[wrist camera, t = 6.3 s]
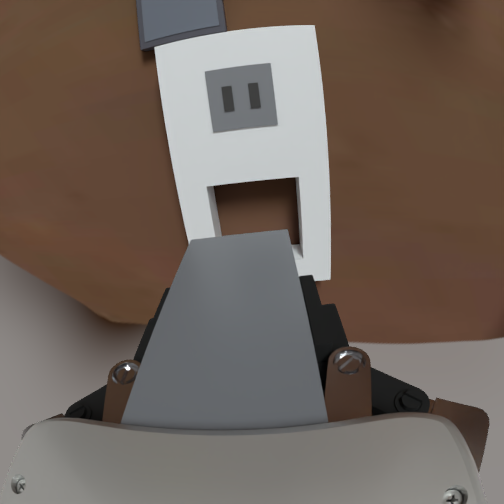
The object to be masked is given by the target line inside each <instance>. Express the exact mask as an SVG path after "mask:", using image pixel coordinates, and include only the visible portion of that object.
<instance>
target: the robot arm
mask: <svg viewBox="0 0 504 504" xmlns="http://www.w3.org/2000/svg"><path fill="white" fill-rule="evenodd" d="M299 280H300V284H301V289H302V293H303V298H304V302H305V307H306V311H307V316H308V320H309V325H310V330H311V335H312V339H313V344H314V349H315V354H316V359H317V364H318V369H319V374H320V379H321V384H322V390H323V395H324V400H325V406H326V411H327V417H328V423H322V424H314V425H306V426H297V427H286V428H273V429H256V430H183V429H166V428H153V427H143V426H134V425H125V424H120V423H121V420H122V417H123V414H124V411H125V408H126V405H127V402H128V399H129V396H130V393H131V390H132V387H133V385H134V382H135V379H136V376H137V373H138V370H139V368H140V365H141V362H142V359H143V357H144V354H145V351H146V349H147V346H148V343H149V341H150V338H151V335H152V333H153V330H154V328H155V325H156V322H157V320H158V317H159V315H160V312H161V310H162V307H163V305H164V302H165V300H166V297H167V295H168V293H169V290H170V288H166V290H165V292H164V294H163V297H162V299H161V301H160V304H159V306H158V308H157V311H156V313H155V316H154V318H152V319H150V320H149V322H148V325H147V327H146V329H145V332H144V334H143V337H142V339H141V342H140V344H139V346H138V349H137V351H136V354H135V357H134V360H124V361H121V362H119V363H117V364H116V365H115V366H114V367H113V368H112V369H111V370H110V372H109V375H108V381H107V385H105V386H103V387H102V388H100V389H99V390H97V391H95V392H93V393H92V394H90V395H88V396H86V397H84V398H83V399H81V400H79V401H78V402H76V403H74V404H73V405H71V406H70V407H69V408H68V410H67V412H66V414H65V415H63V414H62V413H61V414H59V415H56V416H53V417H51V418H48V419H46V420H43V421H41V422H38V423H35V424H32V425H30V426H28V427H27V428H26V429H25V430H24V431H23V434H22V441H21V443H20V445H19V447H18V449H17V451H16V453H15V456H14V458H13V460H12V463H11V465H10V468H9V470H8V474H7V476H6V479H5V482H4V485H3V488H2V491H1V495H0V504H487V500H486V496H485V492H484V489H483V485H482V482H481V479H480V476H479V471H480V467H481V463H482V458H483V455H484V450H485V445H486V440H487V435H488V429H489V417H488V415H487V413H486V412H485V411H484V410H482V409H480V408H477V407H472V406H468V405H463V404H459V403H455V402H451V401H447V400H443V399H439V398H436V400H435V401H434V400H431V399H429V398H428V396H427V395H426V394H425V392H424V391H422V390H420V389H419V388H417V387H414V386H412V385H409V384H407V383H405V382H403V381H401V380H398V379H396V378H393V377H391V376H389V375H387V374H384V373H383V372H380V371H378V370H376V369H374V368H371V365H370V359H369V356H368V355H367V353H366V352H364V351H363V350H361V349H359V348H356V347H349V344H348V341H347V338H346V335H345V332H344V329H343V326H342V323H341V320H340V317H339V314H338V311H337V308H336V306H335V304H326V305H321V301H320V298H319V295H318V291H317V288H316V284H315V281H314V278H313V275H304V276H299Z"/></svg>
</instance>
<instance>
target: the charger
mask: <svg viewBox="0 0 504 504" xmlns="http://www.w3.org/2000/svg"><path fill="white" fill-rule="evenodd" d="M322 423H328V417H327V411H326V406H325V400H324V395H323V390H322V384H321V379H320V374H319V369H318V364H317V359H316V354H315V349H314V344H313V339H312V335H311V330H310V325H309V320H308V316H307V311H306V307H305V302H304V298H303V293H302V289H301V284H300V280H299V275H298V271H297V267H296V263H295V258H294V254H293V250H292V246H291V242H290V238H289V233H288V229H286V230H276V231H266V232H257V233H247V234H238V235H229V236H219V237H210V238H202V239H193V240H191V241H190V243H189V246H188V248H187V250H186V252H185V255H184V257H183V259H182V262H181V264H180V266H179V269H178V271H177V273H176V276H175V278H174V281H173V283H172V285H171V288H170V290H169V293H168V295H167V297H166V300H165V302H164V305H163V307H162V310H161V312H160V315H159V317H158V320H157V322H156V325H155V328H154V330H153V333H152V335H151V338H150V341H149V343H148V346H147V349H146V351H145V354H144V357H143V359H142V362H141V365H140V368H139V370H138V373H137V376H136V379H135V382H134V385H133V387H132V390H131V393H130V396H129V399H128V402H127V405H126V408H125V411H124V414H123V417H122V420H121V423H120V424H125V425H134V426H143V427H153V428H166V429H183V430H256V429H273V428H286V427H297V426H306V425H314V424H322Z"/></svg>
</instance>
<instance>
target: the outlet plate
mask: <svg viewBox="0 0 504 504" xmlns="http://www.w3.org/2000/svg"><path fill="white" fill-rule="evenodd" d="M154 48H155V56H156V64H157V72H158V79H159V87H160V94H161V100H162V107H163V113H164V120H165V126H166V132H167V138H168V143H169V149H170V155H171V160H172V165H173V171H174V176H175V181H176V186H177V191H178V196H179V201H180V206H181V211H182V215H183V220H184V224H185V229H186V234H187V238H188V242H189V243H190V241H191V240H193V239H202V238H210V237H219V236H222V234H221V229H220V223H219V217H218V211H217V205H216V199H215V193H214V187H213V186H215V185H223V184H232V183H240V182H249V181H259V180H269V179H280V178H291V177H296V191H297V205H298V220H299V237H300V244H295V245H291V246H292V250H293V254H294V258H295V263H296V267H297V271H298V275H299V276H304V275H313V278H314V281H320V280H330V274H331V218H330V183H329V162H328V145H327V131H326V118H325V107H324V97H323V87H322V78H321V69H320V61H319V54H318V46H317V39H316V33H315V26H314V25H297V26H276V27H263V28H253V29H244V30H236V31H229V32H222V33H216V34H210V35H205V36H199V37H194V38H189V39H185V40H180V41H176V42H172V43H168V44H164V45H160V46H156V47H154Z"/></svg>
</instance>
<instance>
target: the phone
mask: <svg viewBox="0 0 504 504" xmlns="http://www.w3.org/2000/svg"><path fill="white" fill-rule="evenodd" d="M136 4H137V17H138V28H139V38H140V47H141V50H142V51H145V52H146V51H149V50H153V49H155V48H154V47H156V46H160V45H164V44H168V43H172V42H176V41H180V40H185V39H189V38H194V37H199V36H205V35H210V34H216V33H222V32H227V25H226V18H225V11H224V3H223V0H136Z"/></svg>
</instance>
